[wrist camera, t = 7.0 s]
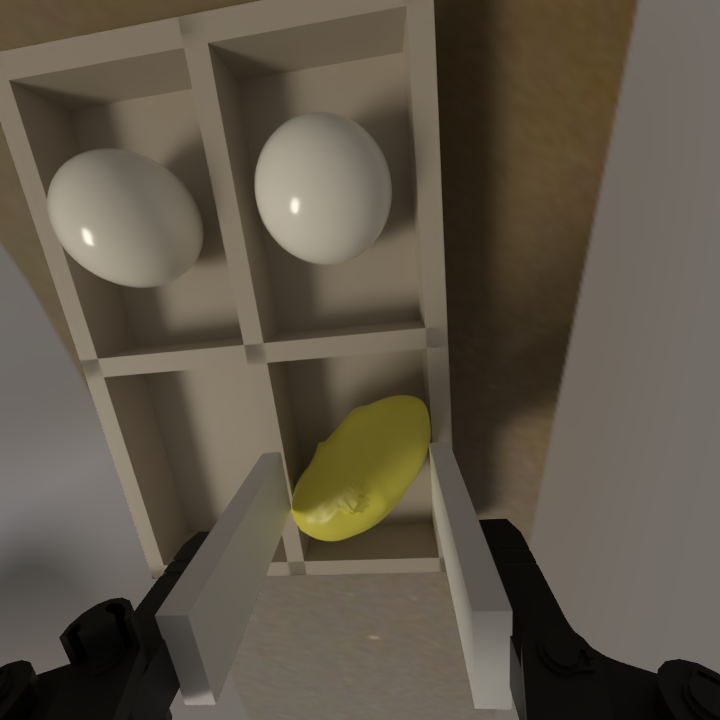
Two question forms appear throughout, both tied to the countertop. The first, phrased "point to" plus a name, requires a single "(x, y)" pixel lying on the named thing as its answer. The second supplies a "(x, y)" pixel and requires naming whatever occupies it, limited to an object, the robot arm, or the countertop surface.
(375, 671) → the countertop surface
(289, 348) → the divided tray
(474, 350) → the countertop surface
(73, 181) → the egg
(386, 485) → the yellow oval piece
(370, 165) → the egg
